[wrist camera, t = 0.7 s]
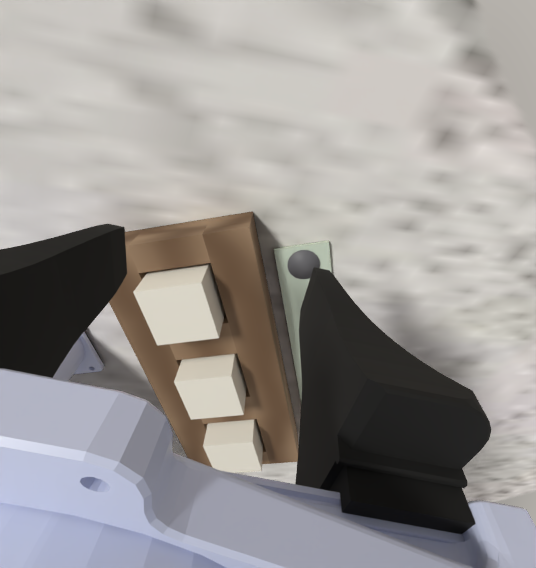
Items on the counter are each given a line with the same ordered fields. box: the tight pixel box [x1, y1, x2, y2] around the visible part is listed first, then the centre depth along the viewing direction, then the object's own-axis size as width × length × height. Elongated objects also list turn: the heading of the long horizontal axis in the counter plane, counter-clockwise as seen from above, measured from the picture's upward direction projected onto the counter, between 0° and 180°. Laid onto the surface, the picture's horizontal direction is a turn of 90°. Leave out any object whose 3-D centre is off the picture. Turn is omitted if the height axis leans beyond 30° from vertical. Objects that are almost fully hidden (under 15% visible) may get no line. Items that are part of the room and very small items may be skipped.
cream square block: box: [203, 419, 263, 473], centre depth 30 cm, size 4×4×3 cm
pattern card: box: [274, 241, 332, 400], centre depth 28 cm, size 4×19×1 cm, turn 10°
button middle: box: [174, 353, 247, 420], centre depth 26 cm, size 4×4×3 cm
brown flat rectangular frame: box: [109, 212, 299, 468], centre depth 28 cm, size 11×25×3 cm, turn 10°
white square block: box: [133, 263, 225, 345], centre depth 22 cm, size 4×4×3 cm
